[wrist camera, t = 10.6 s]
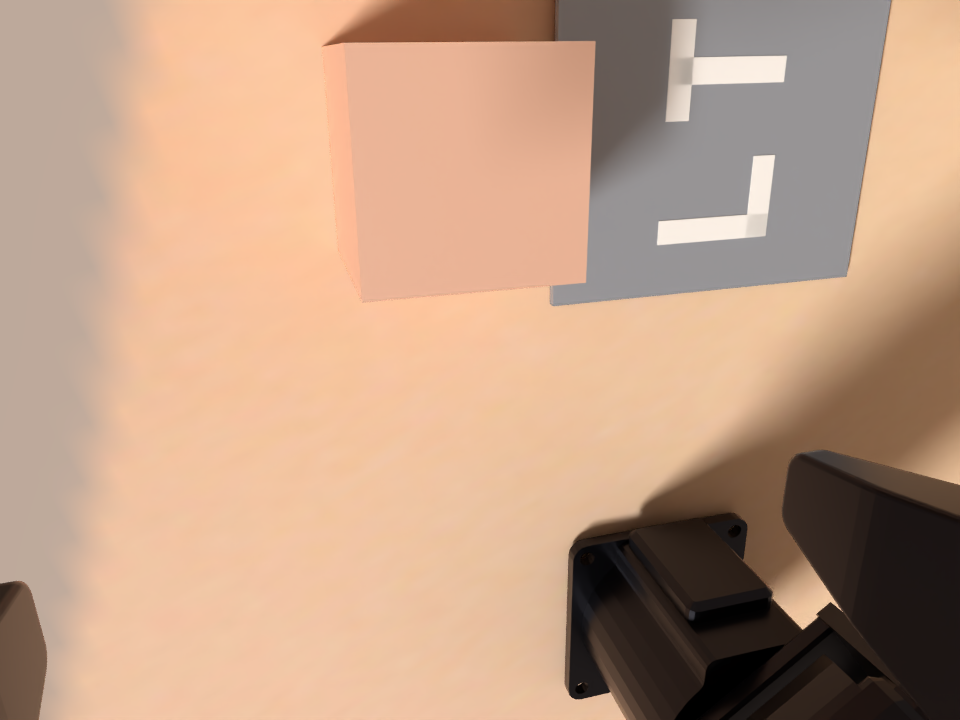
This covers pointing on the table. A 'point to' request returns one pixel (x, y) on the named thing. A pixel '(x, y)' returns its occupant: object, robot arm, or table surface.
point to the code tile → (723, 140)
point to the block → (460, 164)
